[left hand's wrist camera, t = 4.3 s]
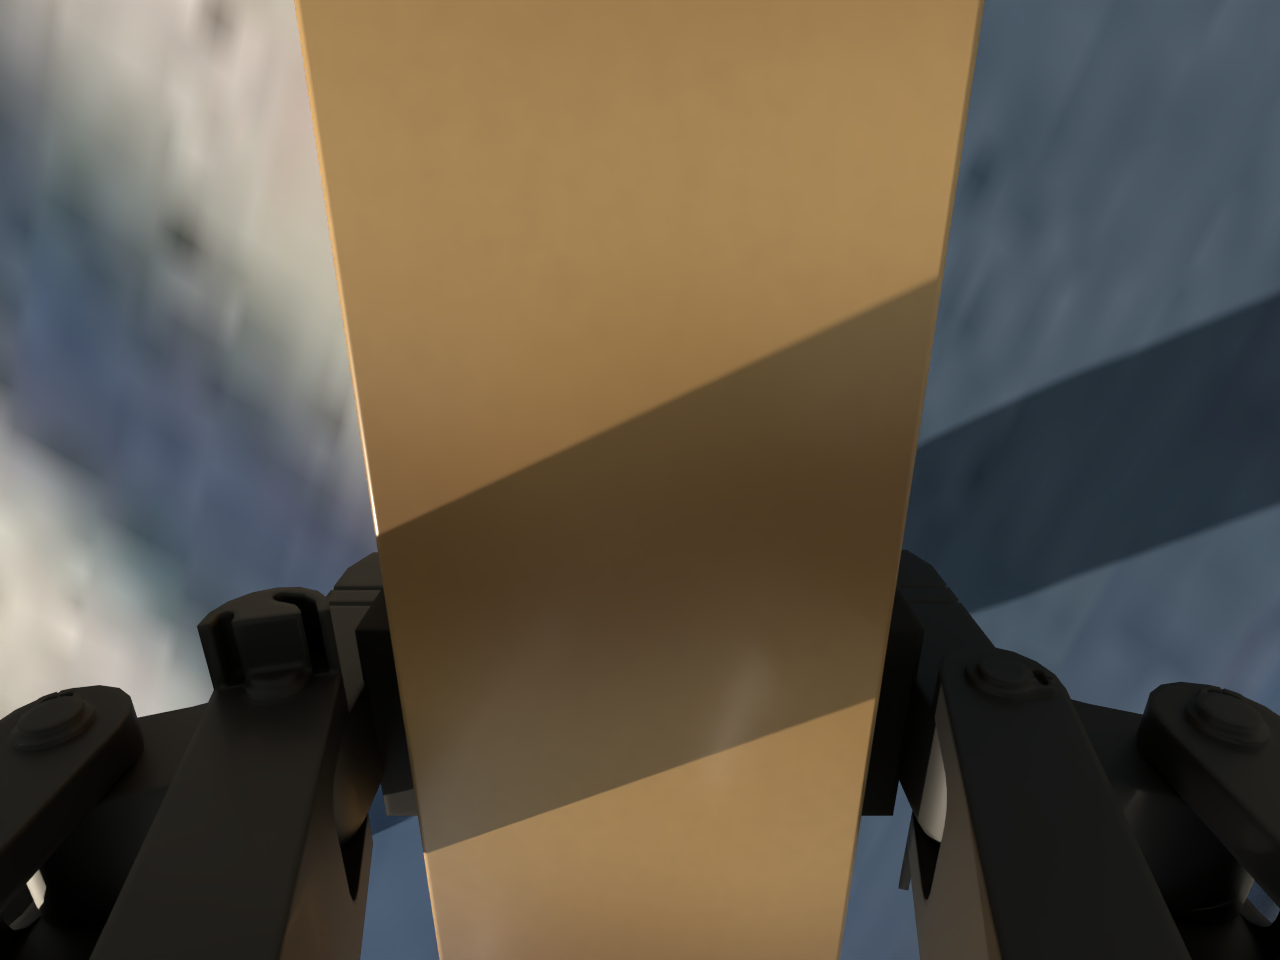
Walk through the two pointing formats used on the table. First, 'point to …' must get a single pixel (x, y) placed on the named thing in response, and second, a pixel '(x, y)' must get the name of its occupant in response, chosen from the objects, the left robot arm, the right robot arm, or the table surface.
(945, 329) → the table surface
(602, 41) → the bar
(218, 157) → the table surface
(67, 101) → the table surface
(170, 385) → the table surface
